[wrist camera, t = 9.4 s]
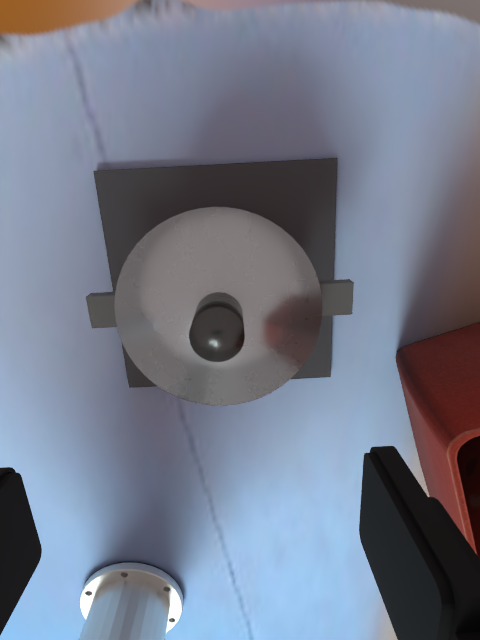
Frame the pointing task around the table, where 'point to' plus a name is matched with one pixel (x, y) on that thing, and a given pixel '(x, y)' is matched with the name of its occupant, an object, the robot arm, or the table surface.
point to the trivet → (236, 192)
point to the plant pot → (447, 420)
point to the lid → (218, 306)
